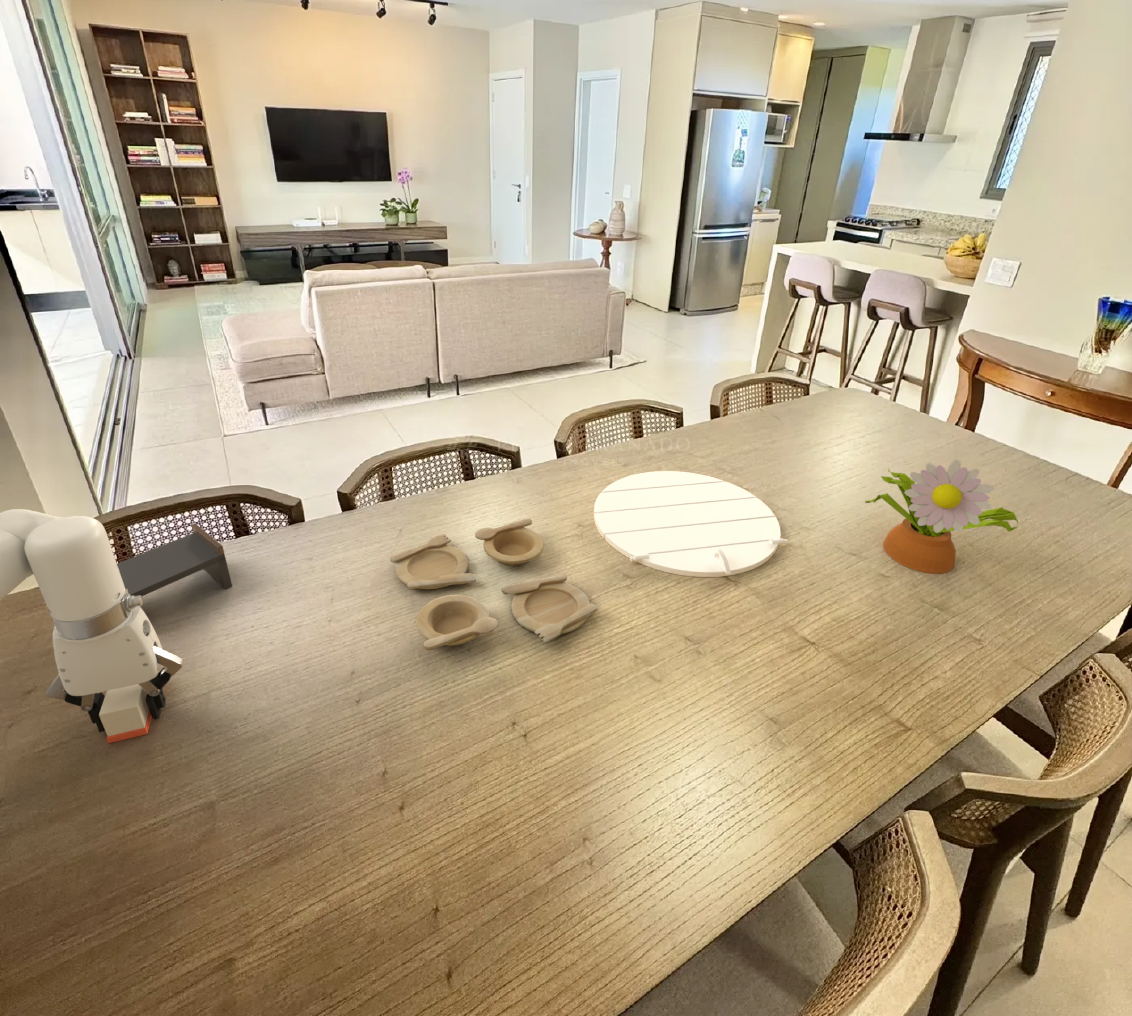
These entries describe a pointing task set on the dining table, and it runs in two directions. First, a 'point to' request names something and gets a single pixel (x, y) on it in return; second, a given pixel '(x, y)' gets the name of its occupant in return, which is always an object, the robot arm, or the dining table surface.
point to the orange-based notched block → (125, 713)
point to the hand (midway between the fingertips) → (131, 716)
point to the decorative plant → (938, 515)
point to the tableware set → (533, 606)
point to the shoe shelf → (175, 563)
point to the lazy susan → (687, 524)
